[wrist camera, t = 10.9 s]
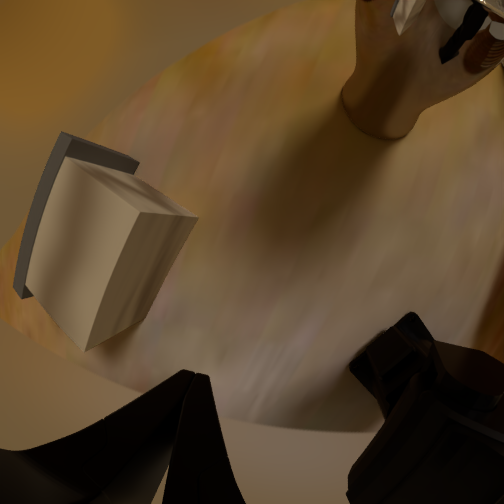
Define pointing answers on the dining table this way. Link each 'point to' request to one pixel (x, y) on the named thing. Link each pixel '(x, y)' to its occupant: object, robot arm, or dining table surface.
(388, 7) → the beer glass
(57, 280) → the maple block
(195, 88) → the dining table surface
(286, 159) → the dining table surface
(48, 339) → the dining table surface
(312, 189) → the dining table surface
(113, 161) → the backstop board
